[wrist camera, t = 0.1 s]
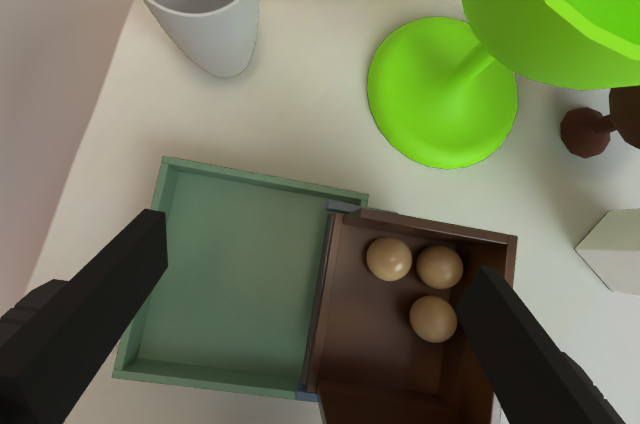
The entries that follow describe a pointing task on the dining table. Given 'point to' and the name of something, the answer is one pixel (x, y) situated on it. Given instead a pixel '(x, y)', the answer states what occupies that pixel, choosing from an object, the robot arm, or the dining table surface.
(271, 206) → the tray
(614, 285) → the milk
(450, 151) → the wineglass
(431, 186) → the dining table surface
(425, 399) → the brown wooden box
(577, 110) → the ice cream bowl
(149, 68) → the dining table surface
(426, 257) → the wooden ball
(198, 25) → the cup
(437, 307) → the wooden ball
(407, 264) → the wooden ball
